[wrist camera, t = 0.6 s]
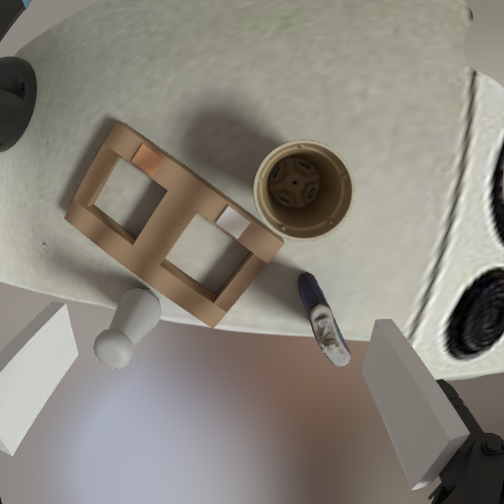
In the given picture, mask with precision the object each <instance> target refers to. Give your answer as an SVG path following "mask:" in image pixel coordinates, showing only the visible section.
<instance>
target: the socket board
mask: <svg viewBox="0 0 504 504" xmlns="http://www.w3.org/2000/svg"><path fill="white" fill-rule="evenodd" d="M120 157H123V158H124V159H126V160H127V161H128V162H130V163H131V164H132V165H134V166H135V167H136V168H138V169H139V170H141V171H142V172H143V173H145V174H146V175H147V176H149V177H150V178H151V179H153V180H154V181H156V182H157V183H158V184H160V185H161V186H162V187H164V188H165V189H166V190H168V191H167V193H166V194H165V196H164V197H163V199H162V200H161V202H160V203H159V205H158V207H157V208H156V210H155V211H154V213H153V214H152V216H151V217H150V219H149V220H148V222H147V224H146V225H145V227H144V228H143V230H142V232H141V233H140V235H139V236H138V238H136V237H135V236H134V235H132V234H131V233H130V232H128V231H127V230H126V229H124V228H123V227H122V226H121V225H119V224H118V223H117V222H115V221H114V220H113V219H111V218H110V217H109V216H108V215H106V214H105V213H104V212H102V211H101V210H100V209H99V208H97V207H96V206H95V205H94V202H95V201H96V199H97V197H98V195H99V193H100V191H101V190H102V188H103V186H104V184H105V183H106V181H107V179H108V177H109V176H110V174H111V172H112V170H113V169H114V167H115V165H116V164H117V162H118V160H119V159H120ZM197 212H198V213H199V214H201V215H202V216H203V217H205V218H206V219H207V220H209V221H210V222H212V223H213V224H214V225H216V226H217V227H218V228H220V229H221V230H222V231H224V232H225V233H227V234H228V235H229V236H231V237H232V238H233V239H235V240H236V241H237V242H239V243H240V244H242V245H243V246H244V247H246V248H247V249H248V250H250V251H251V252H250V253H249V254H248V255H247V257H246V258H245V259H244V260H243V262H242V263H241V264H240V265H239V267H238V268H237V269H236V270H235V272H234V273H233V274H232V275H231V277H230V278H229V279H228V280H227V282H226V283H225V284H224V285H223V287H222V288H221V289H220V290H219V292H218V293H217V294H214V293H213V292H211V291H210V290H208V289H207V288H205V287H204V286H203V285H201V284H200V283H198V282H197V281H195V280H194V279H193V278H191V277H190V276H188V275H187V274H186V273H184V272H183V271H181V270H180V269H179V268H177V267H176V266H174V265H173V264H172V263H170V262H169V261H167V260H166V259H165V258H166V256H167V255H168V253H169V252H170V250H171V249H172V247H173V246H174V244H175V243H176V241H177V240H178V239H179V237H180V236H181V234H182V233H183V231H184V230H185V229H186V227H187V226H188V224H189V223H190V221H191V220H192V219H193V217H194V216H195V214H196V213H197ZM64 219H66V220H67V221H68V222H69V223H70V224H72V225H73V226H74V227H75V228H76V229H78V230H79V231H80V232H81V233H83V234H84V235H85V236H86V237H88V238H89V239H90V240H91V241H93V242H94V243H95V244H96V245H98V246H99V247H100V248H101V249H103V250H104V251H105V252H106V253H108V254H109V255H110V256H112V257H113V258H114V259H115V260H117V261H118V262H119V263H121V264H122V265H123V266H125V267H126V268H127V269H129V270H130V271H131V272H133V273H134V274H135V275H137V276H138V277H139V278H141V279H142V280H144V281H145V282H146V283H148V284H149V285H150V286H152V287H153V288H155V289H156V290H157V291H159V292H160V293H162V294H163V295H164V296H166V297H167V298H169V299H170V300H172V301H173V302H174V303H176V304H177V305H179V306H180V307H182V308H183V309H185V310H186V311H187V312H189V313H190V314H192V315H193V316H195V317H196V318H198V319H199V320H201V321H202V322H204V323H205V324H207V325H208V326H210V327H211V328H214V327H215V326H216V325H217V324H218V323H219V321H220V320H221V319H222V318H223V317H224V315H225V314H226V313H227V312H228V311H229V309H230V308H231V307H232V306H233V305H234V304H235V302H236V301H237V300H238V299H239V298H240V296H241V295H242V294H243V293H244V292H245V290H246V289H247V288H248V287H249V286H250V284H251V283H252V282H253V281H254V280H255V278H256V277H257V276H258V275H259V274H260V272H261V271H262V270H263V269H264V268H265V266H266V265H267V264H268V263H269V262H270V260H271V259H272V258H273V257H274V255H275V254H276V253H277V252H278V251H279V249H280V248H281V247H282V246H283V245H284V241H283V238H282V237H280V236H279V235H278V234H276V233H275V232H273V231H272V230H271V229H270V228H269V227H267V226H266V225H265V224H263V223H262V222H261V221H259V220H258V219H257V218H255V217H254V216H253V215H251V214H250V213H249V212H247V211H246V210H245V209H243V208H242V207H241V206H239V205H238V204H237V203H235V202H234V201H233V200H231V199H230V198H229V197H227V196H226V195H224V194H223V193H222V192H220V191H219V190H218V189H216V188H215V187H214V186H212V185H211V184H210V183H208V182H207V181H205V180H204V179H203V178H201V177H200V176H199V175H197V174H196V173H194V172H193V171H192V170H190V169H189V168H187V167H186V166H185V165H183V164H182V163H181V162H179V161H178V160H176V159H175V158H174V157H172V156H171V155H169V154H168V153H167V152H165V151H164V150H162V149H161V148H160V147H158V146H157V145H155V144H154V143H153V142H151V141H150V140H148V139H147V138H145V137H144V136H143V135H141V134H140V133H138V132H137V131H135V130H134V129H133V128H131V127H130V126H128V125H127V124H125V123H121V122H116V124H115V126H114V127H113V129H112V130H111V132H110V134H109V135H108V137H107V138H106V140H105V142H104V143H103V145H102V147H101V148H100V150H99V152H98V154H97V155H96V157H95V159H94V161H93V162H92V164H91V166H90V168H89V170H88V171H87V173H86V175H85V177H84V179H83V181H82V183H81V185H80V187H79V189H78V190H77V192H76V194H75V196H74V198H73V200H72V203H71V205H70V207H69V209H68V211H67V213H66V215H65V217H64Z"/></svg>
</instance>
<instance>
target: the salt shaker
mask: <svg viewBox="0 0 504 504" xmlns="http://www.w3.org/2000/svg"><path fill="white" fill-rule="evenodd" d="M160 316H161V307H160V301H159V298H158V297H157V296H156V295H155V294H154V293H153V292H152V291H151V290H150V289H141V288H135V289H130V290H128V291H127V292H126V293H125V294H124V295H122V297H121V299H120V302H119V304H118V307H117V310H116V312H115V315H114V318H113V320H112V322H111V325H110V327H109V329H108V330H104V331H103V332H102V333H101V334H99V335H98V336H97V338H96V340H95V342H94V347H93V348H94V351H95V354H96V356H97V357H98V359H99V360H100V361H101V362H102V363H103V364H104V365H106V366H108V367H111V368H114V369H118V368H123V367H124V366H126V365H127V364H128V363H129V362H130V360H131V358H132V355H133V347H134V346H135V345H136V344H137V343H138V342H139V341H140V340H141V339H142V338H143V337H144V336H145V335H146V334H147V333H148V332H149V331H150V330H151V329H152V328H153V327H154V326H155V325H156V324H157V323H158V321H159V319H160Z"/></svg>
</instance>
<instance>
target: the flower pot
mask: <svg viewBox="0 0 504 504" xmlns="http://www.w3.org/2000/svg"><path fill="white" fill-rule="evenodd" d="M300 162H302V163H305V164H307V165H309V166H310V168H309V169H307V168H305V167H304V166H303V165H301V164H300ZM276 168H279V171H278V172H277V174H276V176H275V177H273V176H272V175H273V172H274V170H275V169H276ZM293 181H296V185H294V184H293ZM312 188H314V189H315V192H314V193H313V195H312V196H311V197H308V194H309V192H310V191H311V189H312ZM354 195H355V183H354V178H353V174H352V172H351V169H350V167H349V166H348V164H347V162H346V161H345V160H344V158H343V157H342V156H341V155H340V154H339V153H338V152H336V151H335V150H334V149H333V148H331V147H329V146H327V145H326V144H323V143H321V142H318V141H314V140H294V141H290V142H287V143H284V144H282V145H280V146H278V147H277V148H275V149H274V150H272V151H271V152H270V153H269V154H268V155H267V156H266V157H265V159H264V160H263V161H262V163H261V164H260V166H259V168H258V170H257V173H256V176H255V179H254V184H253V198H254V203H255V206H256V209H257V212H258V214H259V216H260V218H261V219H262V221H263V222H264V223H265V224H266V225H267V226H268V227H269V228H270V229H271V230H272V231H273V232H275V233H276V234H278V235H280V236H282V237H284V238H287V239H289V240H294V241H301V242H302V241H303V242H304V241H305V242H306V241H313V240H318V239H321V238H323V237H326V236H328V235H330V234H331V233H333V232H334V231H336V230H337V229H338V228H339V227H340V226H341V225H342V224H343V223H344V221H345V220H346V219H347V217H348V215H349V213H350V211H351V209H352V206H353V203H354ZM280 197H283V198H285V199H286V200H288V203H287V202H285V201H283V200H281V198H280Z"/></svg>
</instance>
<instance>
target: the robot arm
mask: <svg viewBox="0 0 504 504" xmlns="http://www.w3.org/2000/svg"><path fill="white" fill-rule="evenodd" d="M30 2H31V0H0V42H1V40H2V39H3V37H4V36H5V34H6V33H7V32H8V30H9V29H10V27H11V26H12V25H13V24H14V22H15V21H16V20H17V19H18V17H19V16H20V15H21V13H22V12H23V11H24V10H26V9H27V8H28V4H29V3H30ZM36 93H37V83H36V77H35V73H34V70H33V68H32V67H31V65H30V64H29V63H28V62H27V61H25V60H23V59H20V58H16V57H3V58H0V152H3V151H6V150H8V149H9V148H11V147H12V146H13V145H14V144H15V143H16V142H17V141H18V140H19V139H20V137H21V136H22V134H23V133H24V131H25V129H26V128H27V126H28V124H29V121H30V119H31V116H32V113H33V110H34V106H35V101H36ZM77 356H78V350H77V347H76V343H75V339H74V336H73V332H72V328H71V324H70V319H69V315H68V310H67V306H66V303H61V302H52V303H50V304H49V305H48V306H47V307H46V308H45V309H44V310H43V311H42V312H41V313H40V314H39V315H37V316H36V317H35V318H34V319H33V320H32V321H31V322H30V323H29V324H28V325H27V326H26V327H25V328H24V329H23V330H22V331H21V332H20V333H19V334H18V335H17V336H16V337H15V338H14V339H13V340H12V341H11V342H10V343H9V344H8V345H7V346H6V347H5V348H4V349H3V350H2V351H1V352H0V450H1V451H4V452H6V453H7V454H9V455H11V456H13V454H14V452H15V451H16V449H17V447H18V446H19V444H20V442H21V440H22V439H23V437H24V436H25V434H26V432H27V431H28V429H29V428H30V426H31V425H32V423H33V421H34V420H35V418H36V417H37V415H38V414H39V412H40V410H41V409H42V407H43V406H44V404H45V403H46V401H47V400H48V398H49V397H50V395H51V394H52V392H53V391H54V389H55V388H56V386H57V385H58V383H59V382H60V380H61V379H62V377H63V376H64V375H65V373H66V372H67V370H68V369H69V367H70V366H71V364H72V363H73V362H74V360H75V358H76V357H77ZM361 372H362V374H363V376H364V378H365V380H366V383H367V385H368V387H369V389H370V392H371V394H372V396H373V398H374V401H375V403H376V405H377V408H378V410H379V412H380V415H381V417H382V419H383V422H384V424H385V426H386V429H387V431H388V434H389V436H390V438H391V441H392V443H393V446H394V448H395V450H396V453H397V455H398V458H399V460H400V463H401V465H402V468H403V471H404V473H405V475H406V478H407V481H408V483H409V486H410V489H411V490H415V489H418V488H422V487H425V486H428V485H431V483H432V482H433V481H434V480H435V479H436V478H437V477H438V475H439V477H440V479H441V481H442V482H441V484H440V485H439V486H438V487H437V488H436V489H435V490H434V491H433V492H432V493H431V495H430V496H429V498H428V499H431V498H432V497H433V496H434V495H435V496H434V499H433V501H432V503H431V504H504V440H503V439H502V438H501V437H500V436H498V435H496V434H494V433H484V432H483V430H482V429H481V428H480V426H479V424H478V423H477V421H476V420H475V418H474V417H473V415H472V414H471V413H470V411H469V409H468V408H467V407H466V406H464V402H463V401H462V399H461V398H459V395H458V394H457V392H456V391H455V389H454V388H453V387H452V386H451V385H450V384H448V383H447V382H446V381H444V380H443V379H440V380H435V379H434V377H433V376H432V374H431V373H430V372H429V370H428V369H427V367H426V366H425V364H424V363H423V362H422V360H421V359H420V357H419V356H418V354H417V353H416V352H415V350H414V349H413V347H412V346H411V345H410V343H409V342H408V341H407V339H406V338H405V336H404V335H403V334H402V332H401V331H400V330H399V328H398V327H397V326H396V324H395V323H394V322H393V320H392V319H381V320H375V324H374V328H373V332H372V336H371V340H370V343H369V347H368V351H367V354H366V358H365V361H364V365H363V368H362V371H361ZM0 504H2V502H1V498H0Z"/></svg>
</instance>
